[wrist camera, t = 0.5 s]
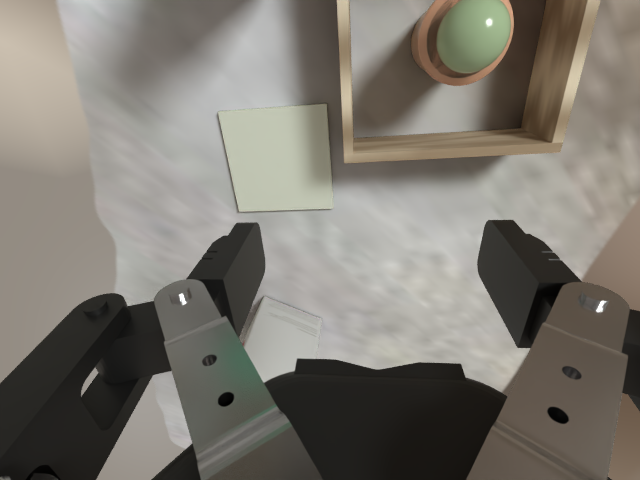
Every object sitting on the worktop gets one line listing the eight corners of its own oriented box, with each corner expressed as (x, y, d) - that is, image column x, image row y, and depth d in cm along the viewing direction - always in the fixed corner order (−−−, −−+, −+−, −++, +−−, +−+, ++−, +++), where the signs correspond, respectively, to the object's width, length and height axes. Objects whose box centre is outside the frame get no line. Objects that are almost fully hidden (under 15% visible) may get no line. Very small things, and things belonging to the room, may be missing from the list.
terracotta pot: (407, 0, 28) (433, -26, 19) (485, -8, 28) (552, -39, 18) (404, 81, 31) (425, 94, 22) (474, 76, 31) (527, 87, 21)
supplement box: (263, 293, 45) (225, 390, 32) (323, 317, 47) (310, 421, 34) (243, 336, 50) (203, 437, 37) (299, 357, 51) (279, 462, 38)
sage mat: (219, 111, 34) (217, 111, 34) (326, 103, 33) (326, 104, 32) (240, 210, 40) (239, 211, 39) (333, 206, 38) (333, 208, 38)
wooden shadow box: (336, -80, 26) (331, -113, 21) (581, -114, 24) (642, -160, 19) (346, 146, 35) (344, 163, 30) (527, 136, 33) (560, 152, 27)
